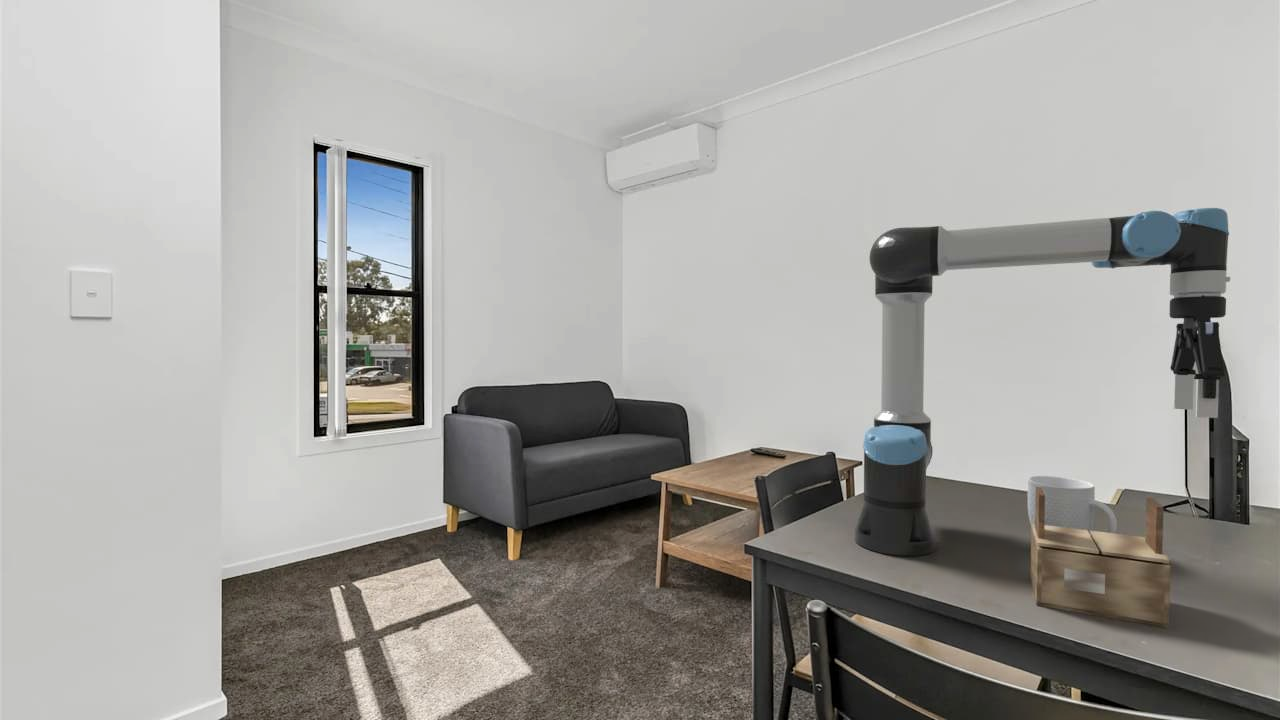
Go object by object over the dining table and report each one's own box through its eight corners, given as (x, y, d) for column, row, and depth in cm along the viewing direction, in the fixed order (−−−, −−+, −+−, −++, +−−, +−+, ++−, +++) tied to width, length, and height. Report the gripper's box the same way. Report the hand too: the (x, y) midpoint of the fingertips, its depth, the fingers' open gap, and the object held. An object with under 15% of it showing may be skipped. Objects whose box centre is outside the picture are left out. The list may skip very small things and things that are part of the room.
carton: (1036, 605, 95) (1037, 548, 95) (1030, 578, 105) (1031, 527, 105) (1168, 628, 87) (1170, 567, 87) (1147, 596, 98) (1149, 541, 97)
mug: (1126, 554, 117) (1128, 487, 116) (1103, 566, 111) (1104, 495, 110) (1041, 533, 129) (1042, 473, 129) (1016, 543, 123) (1017, 480, 123)
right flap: (1102, 554, 91) (1103, 505, 91) (1090, 533, 101) (1091, 488, 100) (1169, 563, 87) (1170, 512, 87) (1150, 540, 97) (1151, 494, 97)
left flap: (1087, 533, 101) (1088, 488, 101) (1099, 554, 91) (1100, 504, 91) (1031, 526, 105) (1032, 483, 104) (1037, 545, 95) (1038, 498, 95)
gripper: (1253, 290, 97) (1249, 422, 98) (1202, 299, 119) (1199, 406, 119) (1191, 292, 101) (1188, 419, 101) (1153, 300, 122) (1150, 405, 123)
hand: (1194, 413), depth 110 cm, fingers open, 13 cm apart
